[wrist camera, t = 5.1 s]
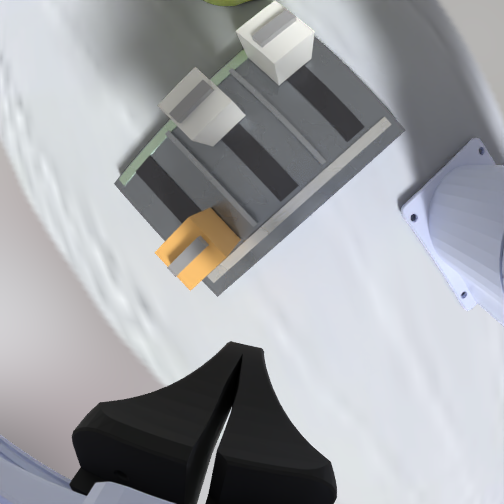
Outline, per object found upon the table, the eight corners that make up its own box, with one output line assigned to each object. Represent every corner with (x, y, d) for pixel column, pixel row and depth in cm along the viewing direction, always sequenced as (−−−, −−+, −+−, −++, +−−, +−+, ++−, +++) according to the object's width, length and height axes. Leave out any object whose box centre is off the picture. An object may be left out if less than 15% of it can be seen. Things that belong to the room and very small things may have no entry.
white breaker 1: (245, 115, 17) (230, 98, 13) (213, 146, 18) (188, 139, 13) (215, 86, 17) (192, 63, 13) (184, 117, 18) (152, 103, 13)
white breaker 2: (311, 58, 16) (315, 27, 11) (279, 85, 16) (273, 60, 12) (279, 31, 15) (274, -5, 11) (247, 57, 16) (233, 27, 12)
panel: (399, 132, 17) (408, 129, 16) (221, 289, 21) (215, 300, 20) (287, 22, 16) (286, 9, 15) (122, 182, 20) (109, 184, 19)
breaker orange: (240, 239, 19) (224, 260, 15) (210, 267, 20) (187, 294, 15) (210, 207, 19) (185, 218, 14) (181, 236, 19) (150, 255, 15)
